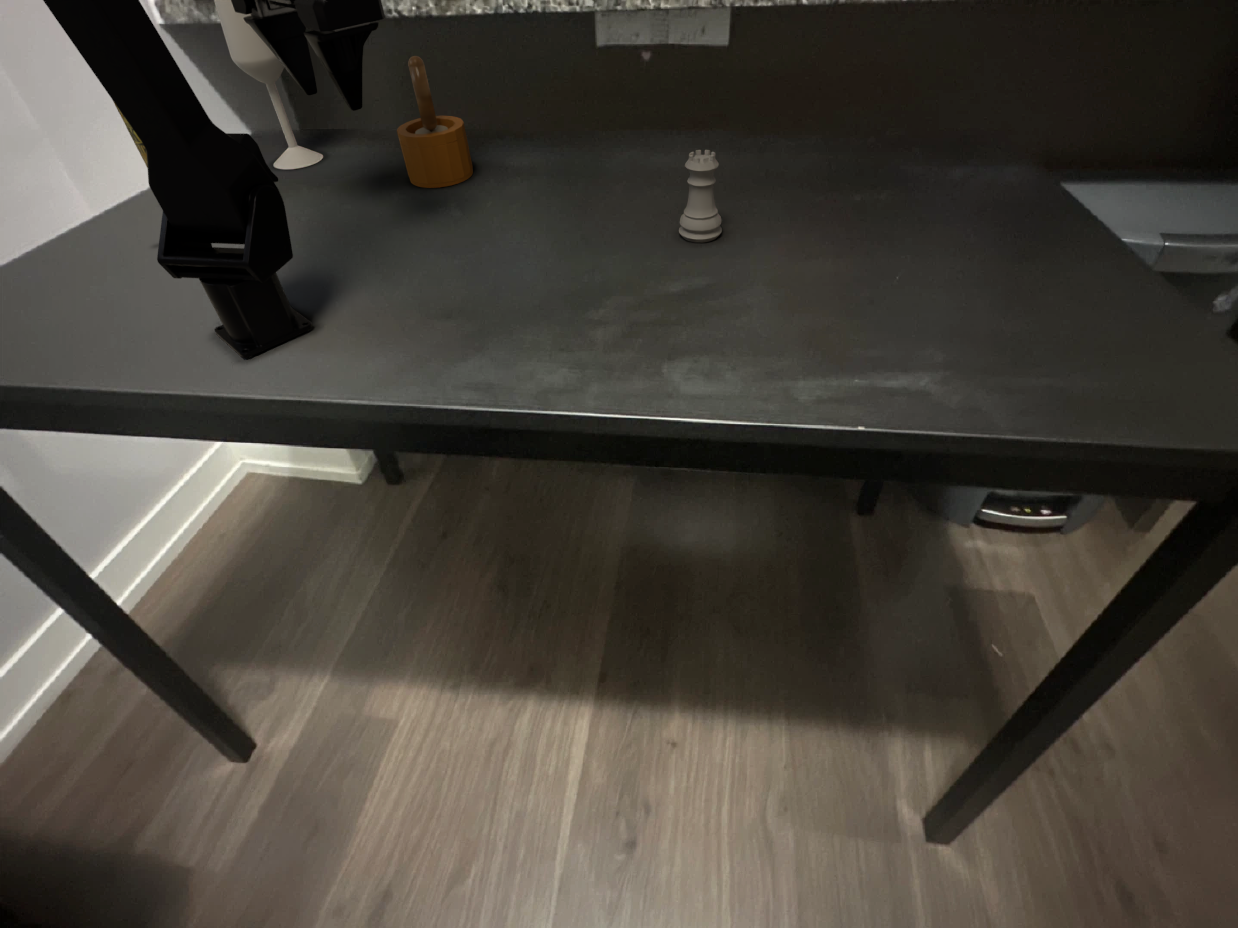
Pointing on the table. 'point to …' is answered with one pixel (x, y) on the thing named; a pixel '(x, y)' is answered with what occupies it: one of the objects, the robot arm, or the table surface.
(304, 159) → the champagne flute
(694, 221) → the rook chess piece
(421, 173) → the orange cylindrical pot
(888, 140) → the table surface
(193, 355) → the table surface
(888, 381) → the table surface
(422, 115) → the brush
